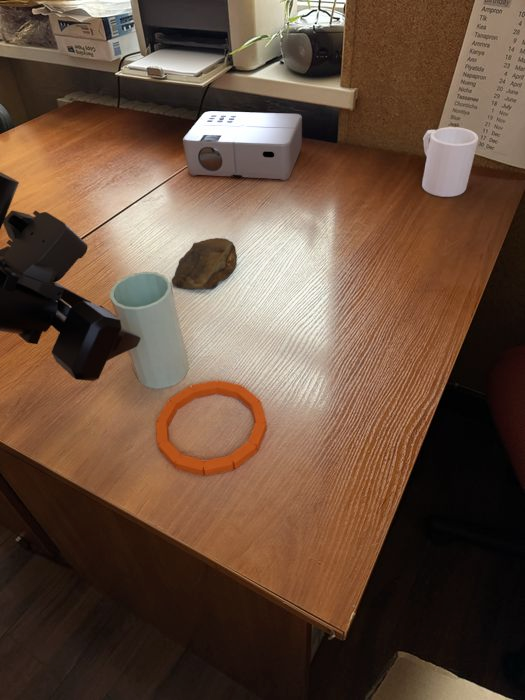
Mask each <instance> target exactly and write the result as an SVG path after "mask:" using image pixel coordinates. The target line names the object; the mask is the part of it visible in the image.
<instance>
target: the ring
mask: <svg viewBox="0 0 525 700" xmlns="http://www.w3.org/2000/svg"><path fill="white" fill-rule="evenodd" d="M213 395H221V396H226V397H228V398H229V397H230V398H234V399H237V400H239V401H240V402H241V403H242V404H244V405H245V406H246V407H247V408H248V409H249V410H251V412H252V417H253V420H254V425H253V428H252V431H251V434H250V435H249V438H248V440H247V441H246V442H245V443H244V444H242V445H241V446H240V447H238V448H237V449H236V450H234V452H233V451H232V453H230V454H229V455H226V456H221V457H217V458H210V459H207V460H204V459H200V458H196V457H193V456H188V455H184V454H182V453H180V451H179V449H177V448H176V447H175V446H174V445H173V444H172V443H171V441H170V435H169V434H170V433H169V426H170V424H171V422H172V421H173V419H174V417H175V416H176V413H177V412H178V410H180V409H182V408H183V407H185V406H186V405H187V404H189V403H190V402H192V401H194V400H195V399H197V398H203V397H208V396H213ZM267 428H268V426H267V419H266V415H265V411H264V408H263V404H262V401H261V400H260V399H259V398H258V397H257V396H256V395H254V394H253V393H252V392H251V391H250V390H249V389H248V388H246V387H245V386H242V384H238V383H233V382H228V381H224V380H219V379H218V380H211V381H206V382H200V383H194V384H191V385H188V386H187V387H186V388H184V389H182V390H181V391H179V392H178V393H176V394H175V395H173V396H171V397H170V398H169V400H167V401H166V403H165V405H164V406H163V408H162V410H161V411H160V413H159V415H158V416H157V418H156V421H155V431H156V444H157V447H158V449H159V452H160V453H161V454H162V455H163V456H164V457H165V458H166V459H167V460H168V462H169V463H170V464H171V465H172V466H173V467H174V468H176V470H179V471H182V472H187V473H190V474H194V475H197V476H200V477H204V476H205V477H208V476H212V475H217V474H221V473H227V472H231V471H234V470H236V469H238V468H239V467H240V466H242V465H243V464H244V463H246V462H247V461H248V460H249V459H251V458H252V457H253V456H255V455H256V454H257V453H258V451H259V450H260V447H261V445H262V443H263V441H264V437H265V435H266V432H267Z"/></svg>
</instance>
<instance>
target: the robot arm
mask: <svg viewBox="0 0 525 700" xmlns="http://www.w3.org/2000/svg"><path fill="white" fill-rule="evenodd" d="M19 184H20V181H18V180H16V179H15V178H13V177H11V176H9V175H7V174H5V173H4V172H1V171H0V230H1V229H2V227H3V226H4V229H5V232H6V235H7V236H8V238H9V239H8V240H7V241H6V244H7V245H6V246H5V247H2V248H0V332H3V333H8V334H9V333H10V334H16V335H18V336H19V337H20V338H21V339H23V341H25V342H26V343H28V344H32V345H38V344H39V342H40V339H41V336H42V335H43V333H47V331H48V330H49V329H50V328H51V327H53V328H54V330H56V331H57V332H58V335H57V338H56V339H55V342H54V345H53V346H52V350H51V354H52V357H53V358H54V360H55V362H56V363H57V364H58V365H59V366H60V367H61V368H62V369H64V371H66V372H67V373H68V374H69V375H70V376H72V377H73V378H74V379H75V380H77V381H87V382H88V381H89V382H94V381H96V380H99V379H100V378H101V374H102V372H103V370H104V368H105V366H106V364H107V362H108V361H109V360H111V359H113V358H115V357H118V356H120V355H122V354H124V353H126V352H128V350H131V349H133V348H135V347H137V346H138V344H139V341H140V339H141V338H140V337H139V336H137V335H135V334H133V333H131V332H129V331H126V330H124V329H122V328H121V321H120V319H118V318H117V317H116V314H114V313H112V312H110V311H109V310H108V309H106V308H105V307H103V306H102V305H97V304H95V303H93V302H92V301H91V300H89V299H87V298H86V297H83V296H81V295H79V293H76V292H74V291H73V290H70V289H69V288H67V287H65V286H63V285H61V284H60V283H57V282H59V281H60V280H62V279H63V278H64V276H66V274H67V273H68V271H70V269H72V267H73V266H74V265H75V264H76V262H77V261H78V260H80V259H82V258H84V256H85V255H86V253H87V251H88V244H87V243H86V242H85V241H84V240H83V239H82V238H81V237H80V236H79V235H78V234H77V233H76V232H74V231H73V230H72V229H71V227H69V226H68V225H67V224H66V223H65V222H64V221H62V220H60V219H59V218H58V217H56V216H54V215H52V214H51V213H49V212H46V211H42V212H39V211H38V210H34V211H33V212H32V214H33V215H34V216H33V215H31V214H28V213H25V212H21V211H17V210H10V212H9V209H10V208H11V207H10V206H11V204H12V202H13V199H14V198H15V197H14V196H15V195H16V192H17V189H18V187H19Z"/></svg>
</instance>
